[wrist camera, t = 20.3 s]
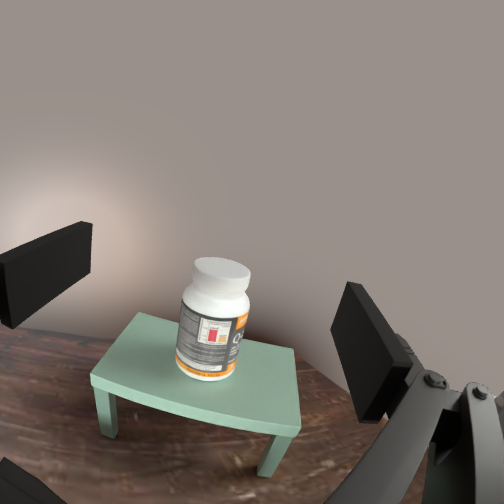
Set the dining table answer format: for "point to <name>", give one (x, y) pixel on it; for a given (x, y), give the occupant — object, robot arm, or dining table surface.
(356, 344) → the robot arm
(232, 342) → the pill bottle
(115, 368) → the shelf
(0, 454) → the dining table surface
